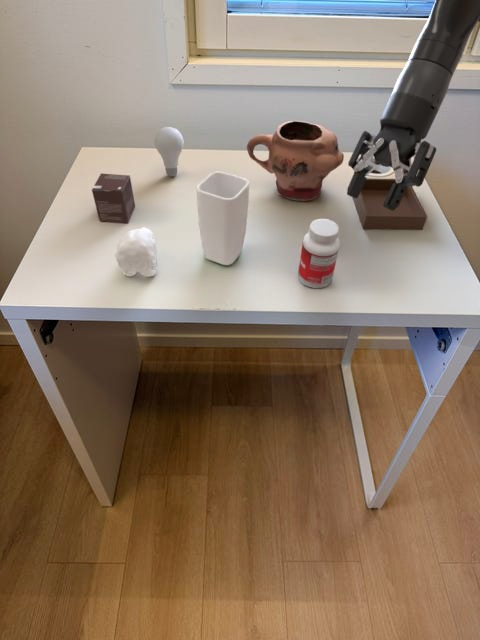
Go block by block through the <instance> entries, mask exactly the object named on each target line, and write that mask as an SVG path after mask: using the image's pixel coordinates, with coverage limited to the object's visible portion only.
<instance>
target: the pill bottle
mask: <svg viewBox="0 0 480 640" xmlns="http://www.w3.org/2000/svg"><path fill="white" fill-rule="evenodd" d="M339 231H340V228H339V225H338V224H337V223H336V222H335V221H333V220H331V219H328V218H316V219H314V220H313V221H311V222H310V225H309V229H308V232H307V233H306V234H305V235H304V237H303V240H302V246H301V251H300V257H299V264H298V270H297V277H298V280H299V281H300V282H301V284H303V285H304V286H306V287H308V288H311V289H313V288H314V289H322V288H323V289H324V288H326V287H327V286H328V285H330V284H331V282H332V281H333V278H334V273H335V268H336V264H337V260H338V256H339V252H340V248H341V241H340V239H339V237H338V236H339V233H340V232H339Z"/></svg>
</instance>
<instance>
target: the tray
mask: <svg viewBox="0 0 480 640" xmlns="http://www.w3.org/2000/svg"><path fill="white" fill-rule="evenodd" d="M366 178H367V179H366V181H365V183H364V185H363V188H362V190H361V192H360V194H359V197H358V198H353V197H352V200H353V203H354V206H355V209H356V212H357V215H358V219H359V222H360V225H361V227H362V229H363V230H411V231H413V230H415V231H422V230H423V229H424V226H425V224H426V222H427V219H428V215H427V213H426V211H425V209H424V206H423V205H422V203H421V201H420V199H419V197H418V195H417V193H416V191H415V189H414V186H411V187H409V188H407V190H406V192H405V194H404V196H403V198H402V200H401V202H400V205H399V206H398V207H397V208H396V209H395V210H394V211H392V210H389V209H387V208H385V207H384V206H383V204H384V202H385V200H386V197H387V195H388V193H389V191H390V189H391V187H392V184H393V183H394V184H396V181H395V178H377V177H375V178H374V177H372V178H371V177H370V178H368V177H366Z"/></svg>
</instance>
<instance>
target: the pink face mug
mask: <svg viewBox="0 0 480 640" xmlns="http://www.w3.org/2000/svg"><path fill="white" fill-rule="evenodd" d="M258 145H263V146H265V147H266V148H267V150H268V158H267V159H265V160H260V159H258V158H257V157H256V156H255V154H254V149H255V148H256V147H257V146H258ZM246 150H247V154H248V156H249V158H250V159H251V160H253V161H254V162H256V164H258V165H259V166H260V167H261V168H263V169H264V170H266V171H267V172H268V173H269V174H274V176H275V178H276V179H275V185H276V186H275V187H276V190H277V192H278V195H280V196H281V197H283V198H286V199H288V200H293V201H312V200H315V199H316V198H318V197H319V196H320V194H321V192H322V188H323V181H324V179H326V178H327V177H328V175H330V173H331V172H333V171H334V170H336V169H338V167H340V166H341V165H342V164H343V162H344V158H345V155H344V153H343V151H341V150H340V148H339V143H338V136H337V135H336V134H335V133H333V132H332V131H330V130H329V129H327V128H326V127H325V126H323V125H320V124H316V123H312V122H307V121H303V120H290V121H285V122H283V123H281V124H279V125H278V127H277V128H276V129H275V132H274V133H273V134H258V135H255V136H252V137H251V138H249V140H248V142H247V144H246Z"/></svg>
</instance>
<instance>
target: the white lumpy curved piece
mask: <svg viewBox="0 0 480 640" xmlns="http://www.w3.org/2000/svg"><path fill="white" fill-rule="evenodd" d="M114 255H115V259H116V260H115V261H116V262H117V264H118V267H119V268H120V269H121V270H122V274H123V275H124V276H126V277H133V276H135V275H137V273H139V274H140V275H142V276H143V277H147V278H150V277H153V276H156V274H157V270H155V269H153V268H152V267H156V266H157V244H156V241H155V236H154V233H153V231H152V230H151V229H150V228H148V227H144V226H141V227H139V228H134V229H130V230H129V231H127V232H126V233H125V234H124V235H123V236H122V237H120V239H119V241H118V243H117V246H116V252H115V254H114Z"/></svg>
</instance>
